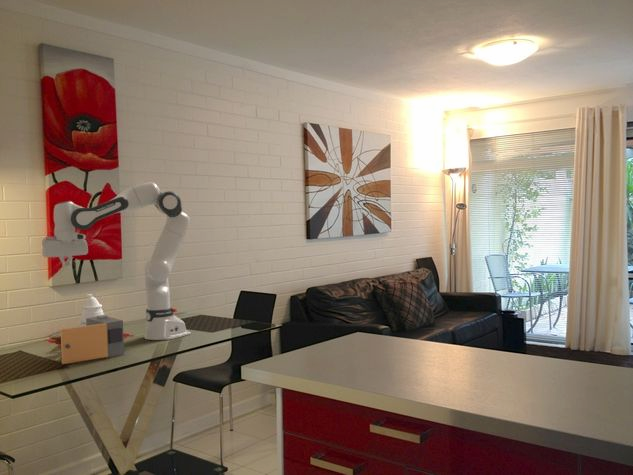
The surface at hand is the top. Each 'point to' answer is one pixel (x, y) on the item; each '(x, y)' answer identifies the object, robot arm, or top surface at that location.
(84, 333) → the side door
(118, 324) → the block
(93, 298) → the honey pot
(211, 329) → the top surface
